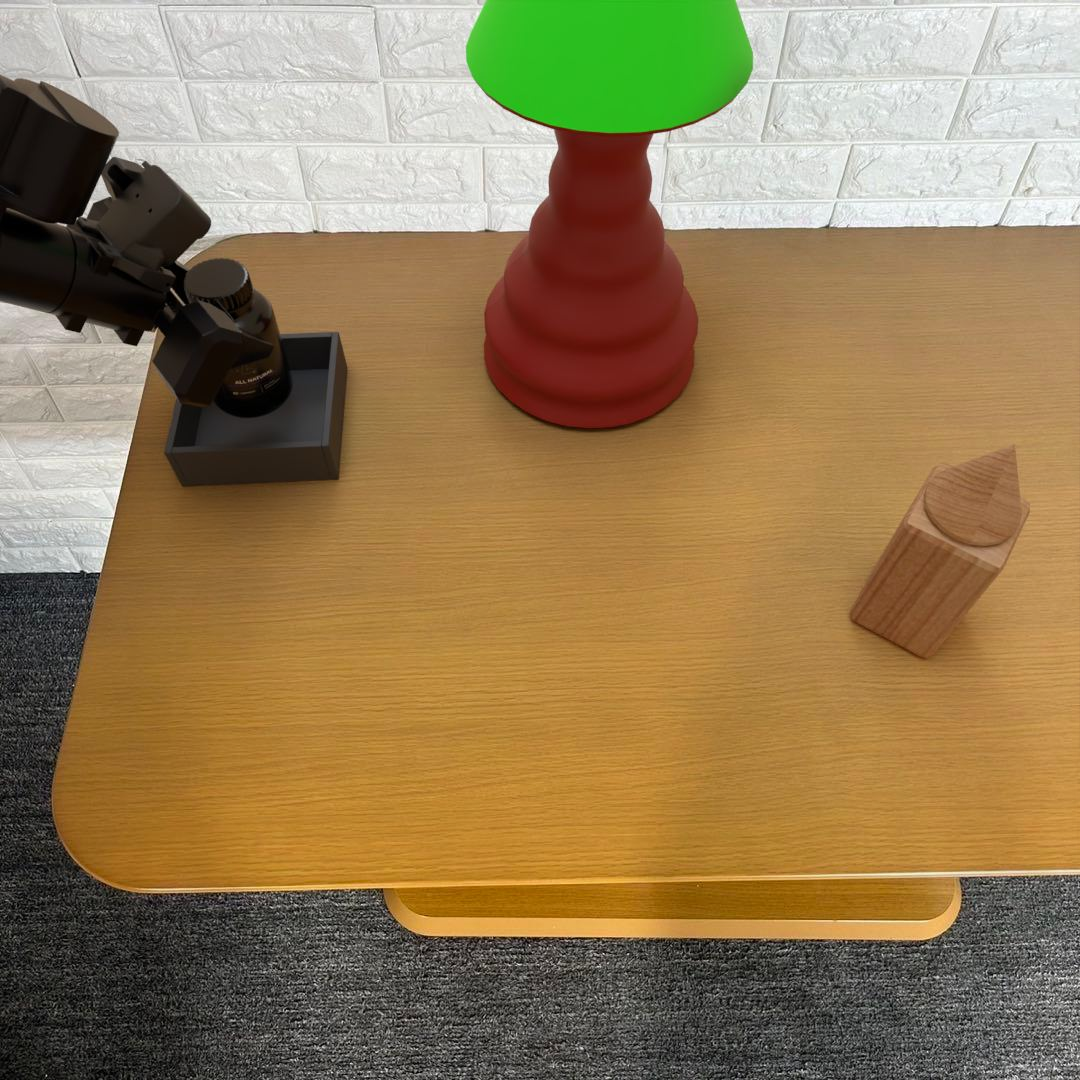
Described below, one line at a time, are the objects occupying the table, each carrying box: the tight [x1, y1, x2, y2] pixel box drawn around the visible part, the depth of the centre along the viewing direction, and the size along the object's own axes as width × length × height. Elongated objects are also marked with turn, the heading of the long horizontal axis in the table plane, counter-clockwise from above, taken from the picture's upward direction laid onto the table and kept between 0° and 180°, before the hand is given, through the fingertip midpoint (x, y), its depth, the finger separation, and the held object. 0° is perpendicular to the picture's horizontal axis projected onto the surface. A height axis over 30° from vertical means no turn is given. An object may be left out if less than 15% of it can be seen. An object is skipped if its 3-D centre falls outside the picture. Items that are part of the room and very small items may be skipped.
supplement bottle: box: [183, 257, 293, 418], centre depth 71 cm, size 7×7×12 cm
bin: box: [163, 331, 348, 487], centre depth 78 cm, size 13×13×4 cm
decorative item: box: [849, 443, 1031, 659], centre depth 61 cm, size 7×7×20 cm
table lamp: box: [465, 0, 754, 429], centre depth 66 cm, size 20×20×45 cm
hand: (249, 325), depth 71 cm, fingers closed on supplement bottle, 7 cm apart
